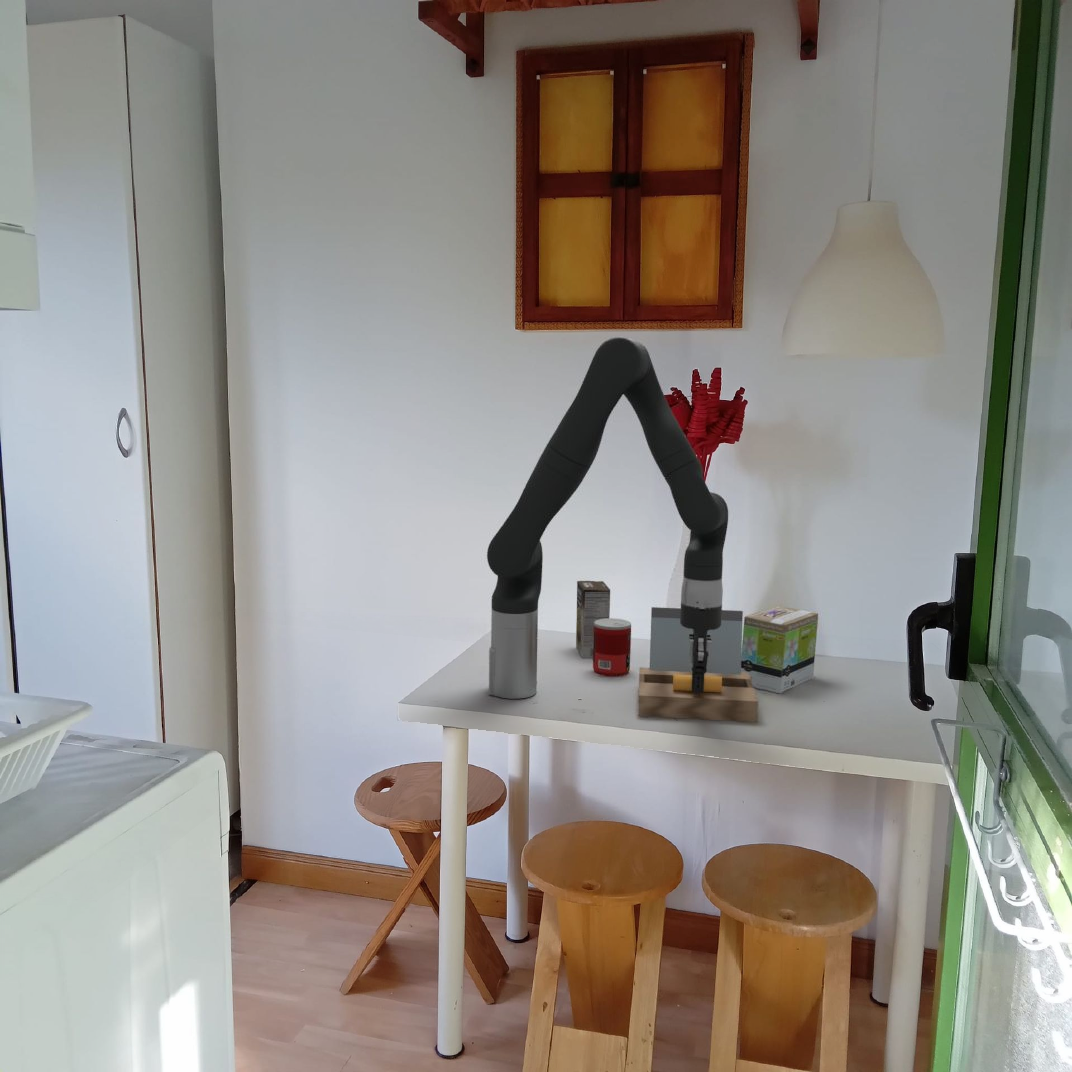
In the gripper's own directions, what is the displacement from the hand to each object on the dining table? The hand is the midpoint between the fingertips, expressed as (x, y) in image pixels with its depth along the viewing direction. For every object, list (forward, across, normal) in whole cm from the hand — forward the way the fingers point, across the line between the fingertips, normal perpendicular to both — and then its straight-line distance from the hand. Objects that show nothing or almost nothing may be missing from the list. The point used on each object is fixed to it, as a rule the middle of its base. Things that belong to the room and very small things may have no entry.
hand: (697, 691), depth 183 cm
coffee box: (+5, -40, -22) cm, 46 cm away
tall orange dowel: (+1, -2, 0) cm, 2 cm away
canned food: (+5, -26, -17) cm, 31 cm away
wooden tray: (+5, -8, 0) cm, 9 cm away
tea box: (+5, -25, +18) cm, 31 cm away
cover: (-6, -13, 0) cm, 14 cm away
